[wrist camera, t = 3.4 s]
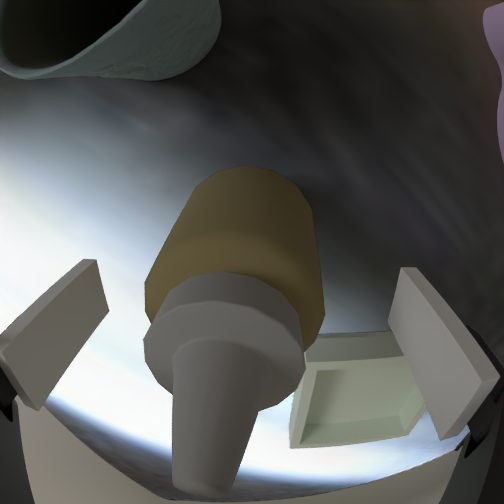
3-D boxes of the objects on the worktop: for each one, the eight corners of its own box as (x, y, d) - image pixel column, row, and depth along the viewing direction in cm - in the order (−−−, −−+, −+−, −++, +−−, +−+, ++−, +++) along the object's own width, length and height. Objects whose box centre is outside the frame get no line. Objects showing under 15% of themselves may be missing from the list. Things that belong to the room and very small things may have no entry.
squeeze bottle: (330, 216, 20) (457, 460, 4) (252, 286, 23) (226, 531, 7) (248, 134, 18) (103, 188, 2) (172, 217, 21) (6, 424, 5)
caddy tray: (288, 425, 31) (289, 448, 28) (302, 334, 25) (306, 362, 22) (401, 414, 30) (408, 434, 27) (445, 326, 24) (460, 347, 21)
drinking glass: (175, -42, 12) (112, -126, 2) (267, 26, 15) (265, -77, 4) (81, 47, 16) (-33, 24, 5) (157, 123, 18) (41, 131, 7)
